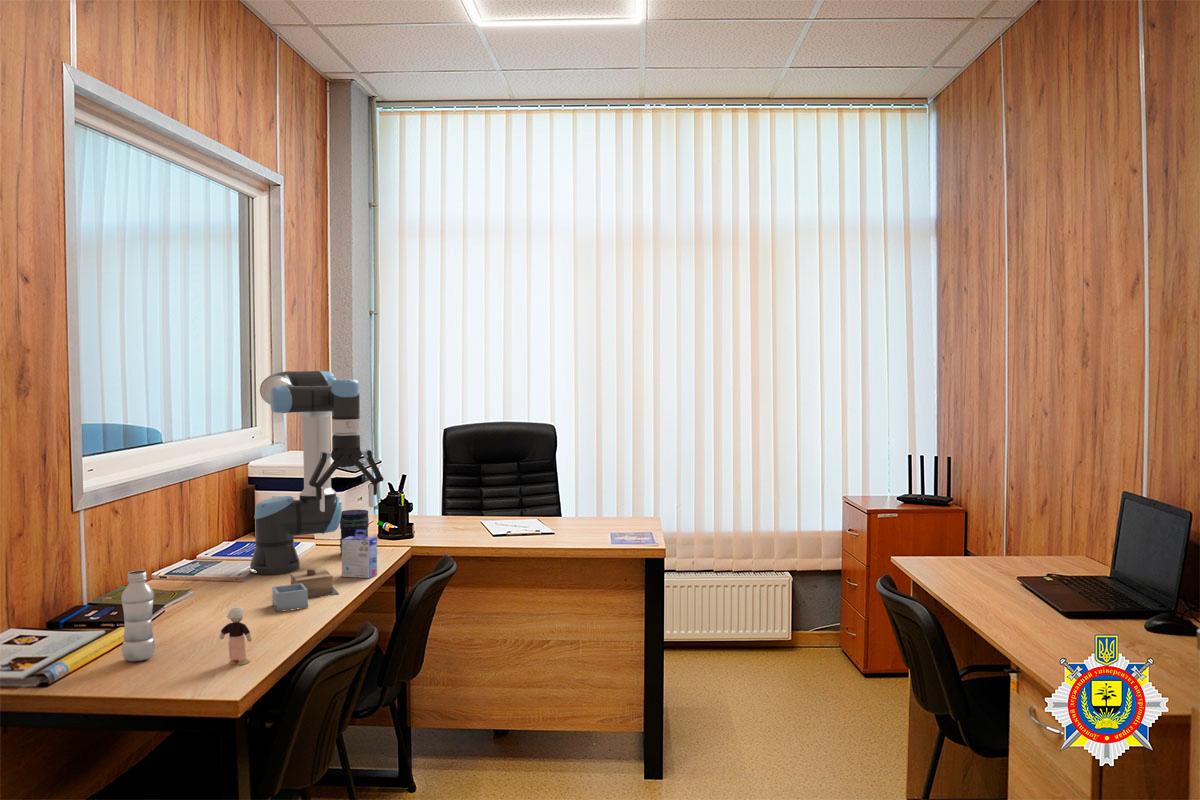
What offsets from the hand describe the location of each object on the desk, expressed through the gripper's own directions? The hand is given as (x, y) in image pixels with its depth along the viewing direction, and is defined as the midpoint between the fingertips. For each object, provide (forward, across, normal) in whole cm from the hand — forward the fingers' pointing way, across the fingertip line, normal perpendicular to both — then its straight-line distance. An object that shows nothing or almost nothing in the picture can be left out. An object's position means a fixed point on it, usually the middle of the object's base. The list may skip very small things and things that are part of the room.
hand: (347, 508), depth 235 cm
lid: (+26, -7, +14) cm, 30 cm away
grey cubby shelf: (+26, -16, +2) cm, 30 cm away
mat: (+26, -7, +14) cm, 30 cm away
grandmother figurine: (+26, -34, -38) cm, 57 cm away
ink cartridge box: (+26, +10, +25) cm, 38 cm away
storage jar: (+26, +16, +57) cm, 65 cm away
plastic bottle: (+26, -53, -25) cm, 64 cm away
